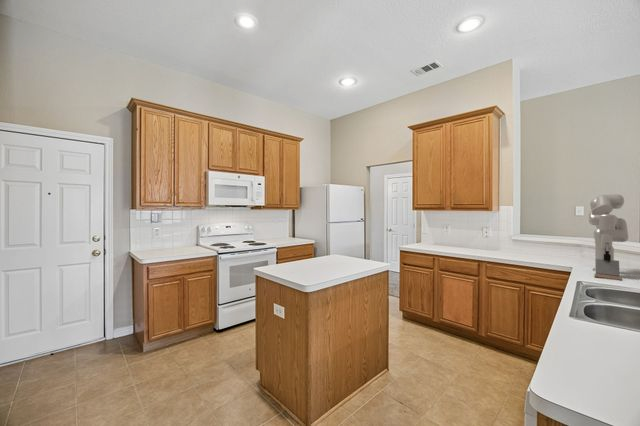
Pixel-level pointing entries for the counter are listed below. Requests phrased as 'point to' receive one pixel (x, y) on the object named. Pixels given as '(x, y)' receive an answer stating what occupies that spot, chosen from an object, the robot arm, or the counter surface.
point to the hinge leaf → (607, 267)
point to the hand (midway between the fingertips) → (607, 260)
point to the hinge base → (608, 277)
